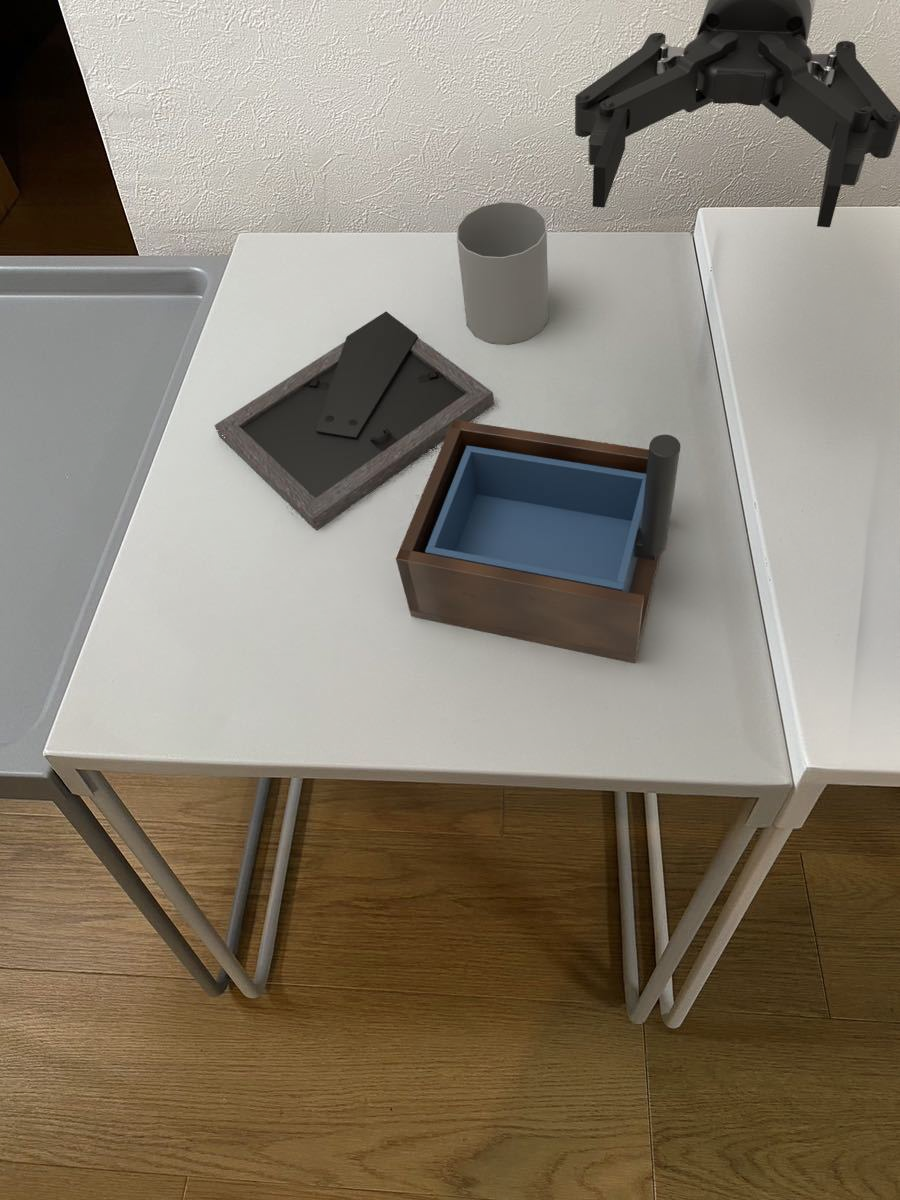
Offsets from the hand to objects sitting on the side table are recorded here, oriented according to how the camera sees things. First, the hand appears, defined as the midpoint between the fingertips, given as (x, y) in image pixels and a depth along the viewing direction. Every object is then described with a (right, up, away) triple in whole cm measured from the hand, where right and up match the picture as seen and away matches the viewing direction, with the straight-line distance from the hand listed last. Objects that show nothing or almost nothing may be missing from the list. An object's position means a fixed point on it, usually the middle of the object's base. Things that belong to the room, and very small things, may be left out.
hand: (710, 197), depth 56 cm
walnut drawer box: (-8, -22, +21) cm, 31 cm away
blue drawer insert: (-7, -21, +19) cm, 30 cm away
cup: (-10, +4, +38) cm, 40 cm away
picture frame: (-25, -7, +32) cm, 41 cm away
